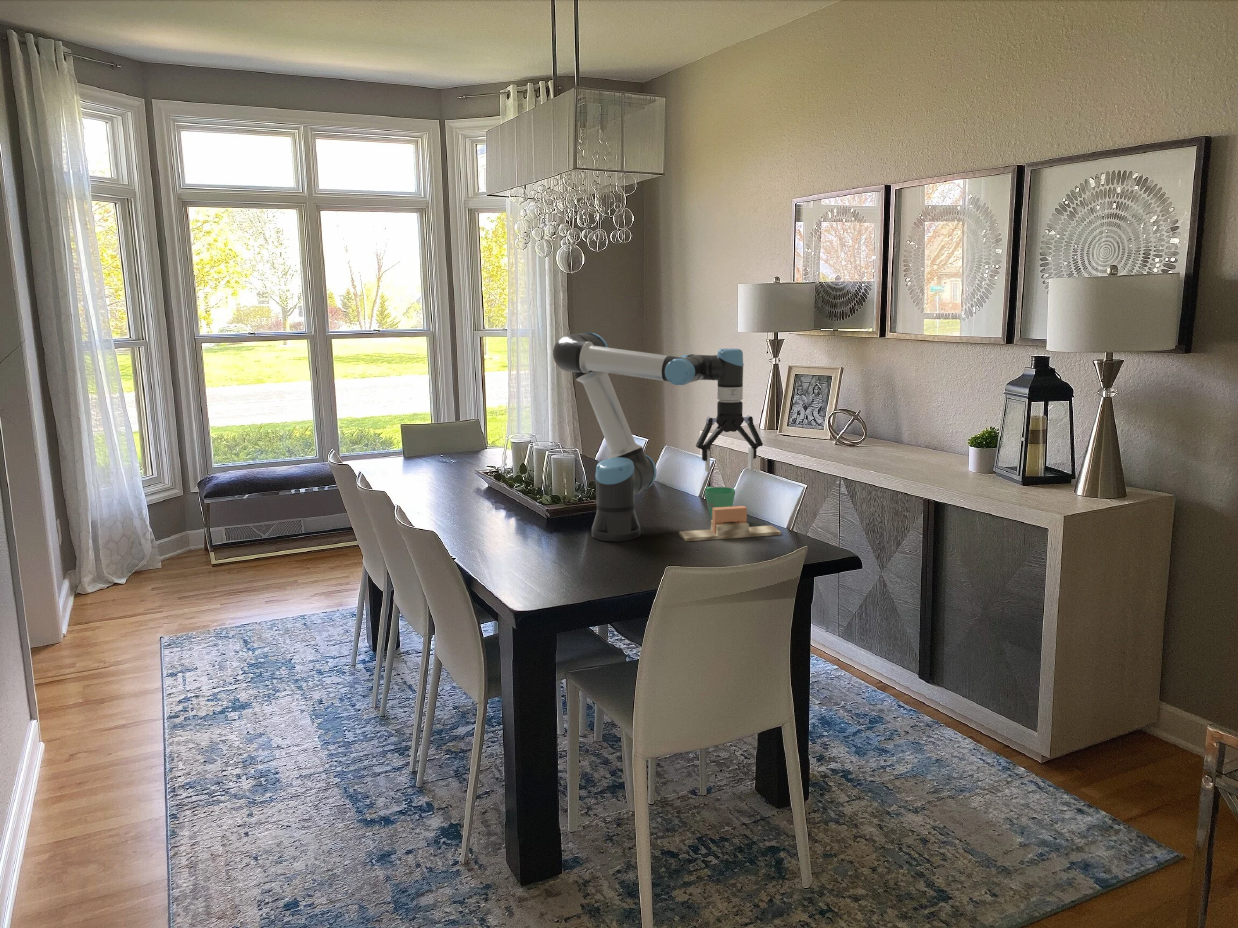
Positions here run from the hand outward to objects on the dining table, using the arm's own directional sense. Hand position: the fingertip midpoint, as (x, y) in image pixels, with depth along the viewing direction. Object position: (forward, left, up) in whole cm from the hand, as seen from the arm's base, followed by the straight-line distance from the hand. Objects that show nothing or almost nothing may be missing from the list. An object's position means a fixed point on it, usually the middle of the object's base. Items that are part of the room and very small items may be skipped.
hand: (729, 470), depth 280 cm
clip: (0, 0, -19) cm, 19 cm away
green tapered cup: (+2, +21, -20) cm, 29 cm away
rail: (0, 0, -20) cm, 20 cm away
